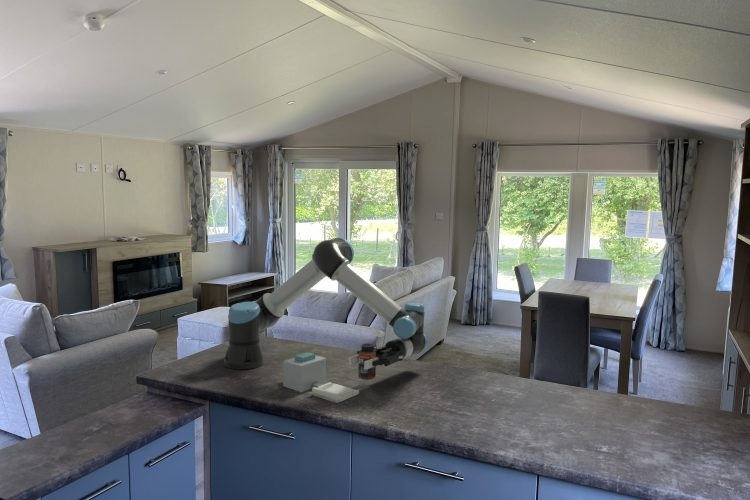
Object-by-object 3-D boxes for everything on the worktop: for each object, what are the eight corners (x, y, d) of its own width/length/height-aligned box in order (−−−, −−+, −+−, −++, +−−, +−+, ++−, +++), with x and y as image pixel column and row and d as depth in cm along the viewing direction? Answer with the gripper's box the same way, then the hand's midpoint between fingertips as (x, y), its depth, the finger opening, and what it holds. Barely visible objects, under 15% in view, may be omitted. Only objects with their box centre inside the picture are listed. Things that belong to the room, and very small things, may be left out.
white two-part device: (275, 383, 188) (275, 354, 187) (300, 375, 197) (300, 346, 196) (335, 403, 170) (335, 371, 169) (359, 393, 179) (360, 362, 178)
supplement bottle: (376, 375, 185) (377, 343, 184) (374, 380, 180) (375, 347, 178) (359, 373, 186) (360, 342, 185) (356, 379, 180) (357, 346, 179)
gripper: (419, 364, 191) (379, 381, 173) (377, 354, 202) (336, 368, 184) (420, 344, 190) (380, 358, 172) (378, 334, 202) (336, 346, 184)
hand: (357, 363), depth 178 cm, fingers closed on supplement bottle, 6 cm apart
